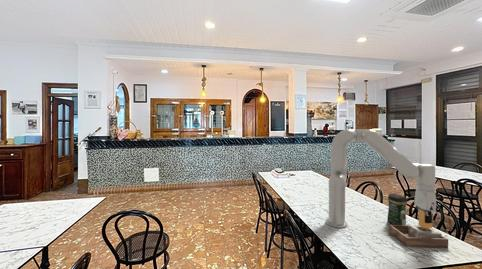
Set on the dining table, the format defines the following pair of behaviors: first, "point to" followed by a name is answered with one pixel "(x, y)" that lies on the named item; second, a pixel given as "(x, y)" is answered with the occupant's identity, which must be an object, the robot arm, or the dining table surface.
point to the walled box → (418, 236)
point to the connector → (423, 219)
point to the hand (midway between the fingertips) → (425, 220)
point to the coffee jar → (397, 209)
